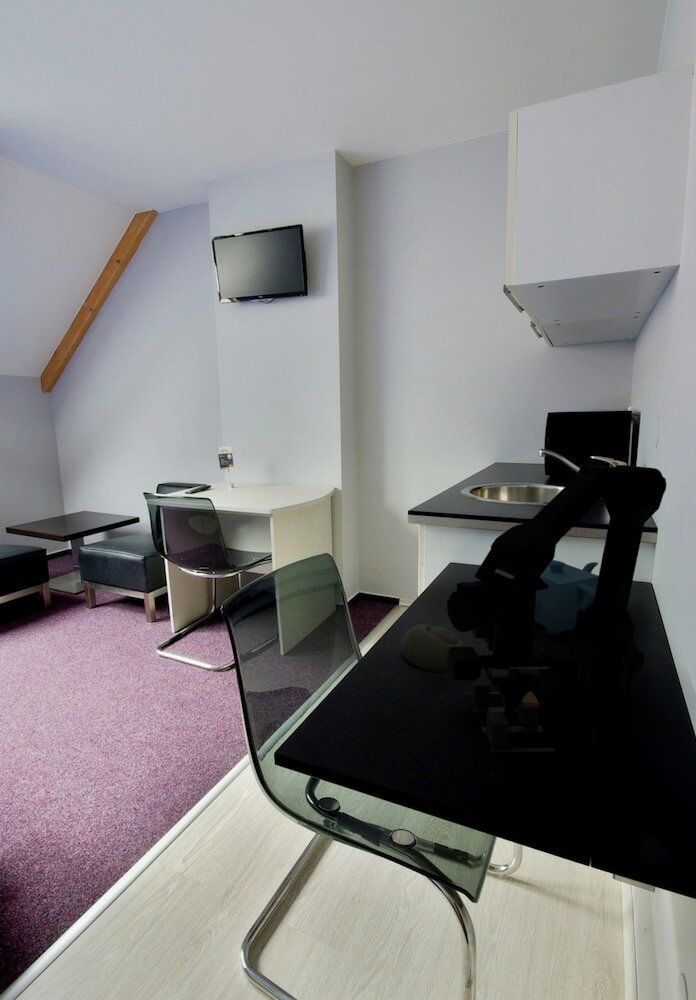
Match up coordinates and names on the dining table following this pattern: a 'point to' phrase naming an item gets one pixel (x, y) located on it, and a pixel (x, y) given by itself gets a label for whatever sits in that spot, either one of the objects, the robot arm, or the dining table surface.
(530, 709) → the handle
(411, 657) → the seashell
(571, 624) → the teakettle
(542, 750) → the panel
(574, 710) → the dining table surface
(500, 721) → the handle
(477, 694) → the handle
